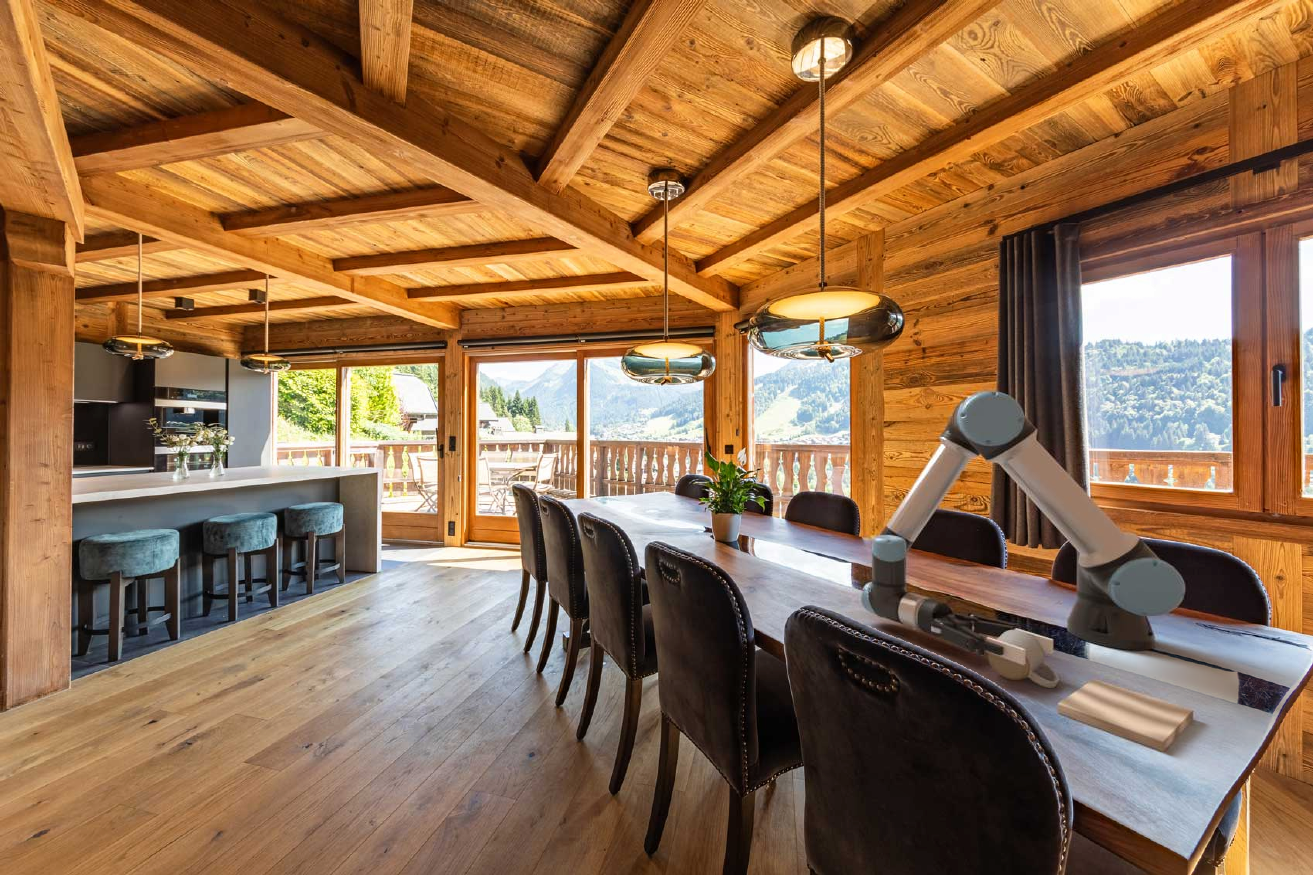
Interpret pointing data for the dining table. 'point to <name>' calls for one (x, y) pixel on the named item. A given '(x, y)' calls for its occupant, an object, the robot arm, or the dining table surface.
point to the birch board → (1127, 714)
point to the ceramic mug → (1032, 660)
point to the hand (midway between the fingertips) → (1038, 651)
